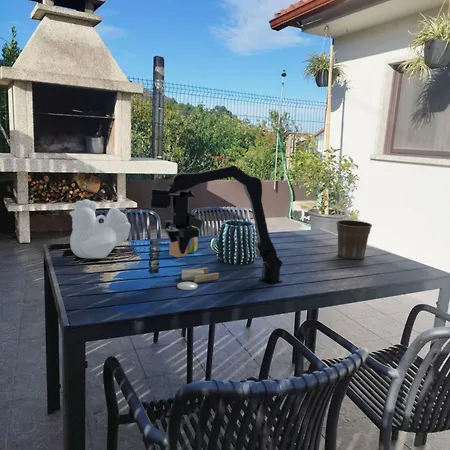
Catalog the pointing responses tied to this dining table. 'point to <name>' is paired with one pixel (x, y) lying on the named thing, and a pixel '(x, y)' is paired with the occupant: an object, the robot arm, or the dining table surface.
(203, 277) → the channel
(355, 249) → the plant pot
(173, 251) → the block
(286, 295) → the dining table surface
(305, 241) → the dining table surface
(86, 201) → the decorative rooster
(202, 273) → the beige rectangular block
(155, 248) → the dining table surface
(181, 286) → the white flat disc
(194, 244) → the chalk box
